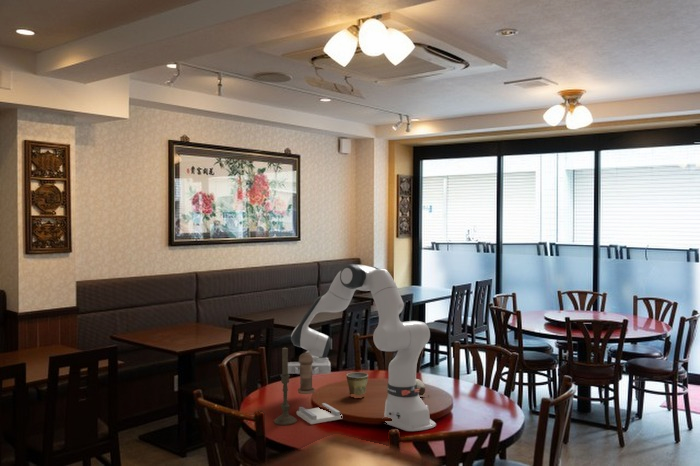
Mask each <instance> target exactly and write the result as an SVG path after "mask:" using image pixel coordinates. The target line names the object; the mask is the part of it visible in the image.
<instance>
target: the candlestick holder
mask: <svg viewBox="0 0 700 466" xmlns="http://www.w3.org/2000/svg"><path fill="white" fill-rule="evenodd" d="M281 350H282V351H281V353H282V354H281V356H282V359H281V361H282V364H281V365H282V367H281V368H282V371H281V372H282V374H280V378H281V380H280V382H281V384H282V392H283V393H282V394H283V397H282V398H283V403H282V404H281V405H280V408H281V410H282V413H281V415H278V416H277V417H276V418H275V419H274V420H273V423H274V424H276V425H279V426H290V425H294V424H296V423H297V422H298V419H297V418H296V417H295V416H293V415H291V414H289V410H290V407H291V405H290V404H289V403H288V391H289V388H288V387H289V386H288V384H289V382H290V377H291V375H290V374H288V362H289V358H288V357H289V356H288V354H289V353H288V352H289V351H288V347H282V348H281Z"/></svg>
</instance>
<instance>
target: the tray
mask: <svg viewBox="0 0 700 466" xmlns="http://www.w3.org/2000/svg"><path fill="white" fill-rule="evenodd" d="M322 405H323V406H324V407H326V408H327V409H329V411H331V413H330V412H328V411H326V410H323V409H320V408H319V407H313V408H305V407H304V406H299V407H298V410H297V411H296V415H297V416H298V417H299V418H301V419H302V420H304V421H306V422H307V423H308V424H310V425H315V424H320V423H327V422H332V421H338V420H343V414H341V411H339V410H338V409H336V408H334V406H331V405H330V404H328V403H326V402H322V403H321V406H322ZM340 414H341V415H340ZM341 416H342V418H341Z"/></svg>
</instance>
